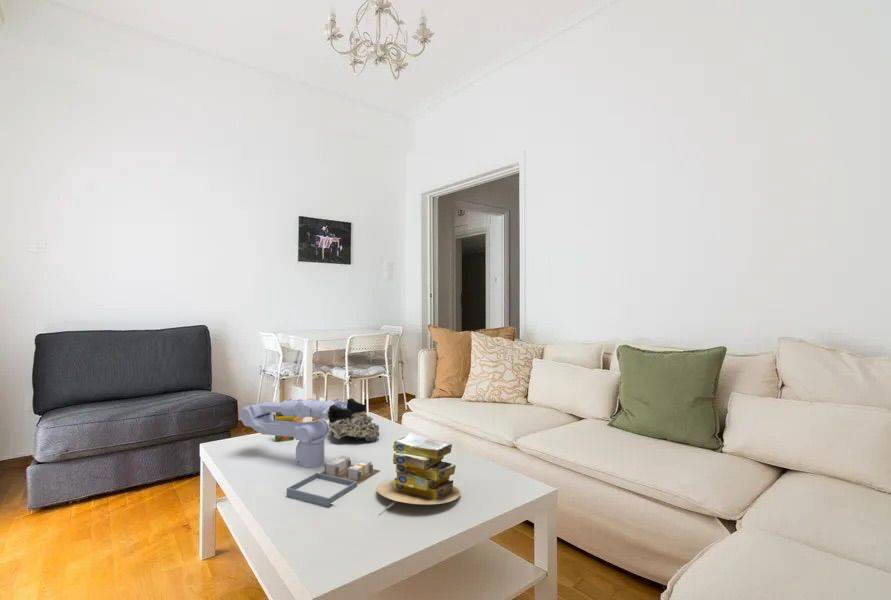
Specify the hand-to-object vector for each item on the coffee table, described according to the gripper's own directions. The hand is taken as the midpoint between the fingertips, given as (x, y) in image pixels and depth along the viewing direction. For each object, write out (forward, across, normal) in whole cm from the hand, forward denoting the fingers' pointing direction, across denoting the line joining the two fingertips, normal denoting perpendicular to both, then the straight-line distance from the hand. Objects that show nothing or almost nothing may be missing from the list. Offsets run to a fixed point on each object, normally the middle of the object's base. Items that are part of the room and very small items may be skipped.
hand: (358, 411), depth 148 cm
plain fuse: (-9, -1, +20) cm, 22 cm away
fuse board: (-5, -1, +21) cm, 22 cm away
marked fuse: (0, -1, +21) cm, 21 cm away
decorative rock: (-30, +34, +20) cm, 49 cm away
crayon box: (-52, +17, +18) cm, 57 cm away
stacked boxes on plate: (+23, -4, +24) cm, 33 cm away
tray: (-4, -15, +21) cm, 26 cm away
